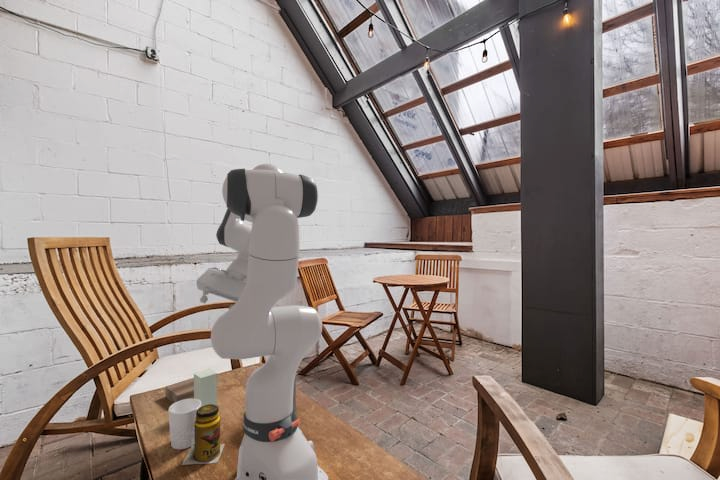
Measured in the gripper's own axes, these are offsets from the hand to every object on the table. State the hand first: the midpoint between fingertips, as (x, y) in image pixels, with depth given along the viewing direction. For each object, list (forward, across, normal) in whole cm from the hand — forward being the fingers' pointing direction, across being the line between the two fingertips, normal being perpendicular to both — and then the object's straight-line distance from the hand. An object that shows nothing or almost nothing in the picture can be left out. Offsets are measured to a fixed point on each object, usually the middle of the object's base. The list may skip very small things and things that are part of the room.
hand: (216, 306), depth 105 cm
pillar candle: (+16, +29, +22) cm, 39 cm away
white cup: (+32, +8, +17) cm, 37 cm away
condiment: (+34, +16, +13) cm, 39 cm away
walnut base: (+15, -5, +36) cm, 39 cm away
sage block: (+19, +5, +28) cm, 34 cm away
